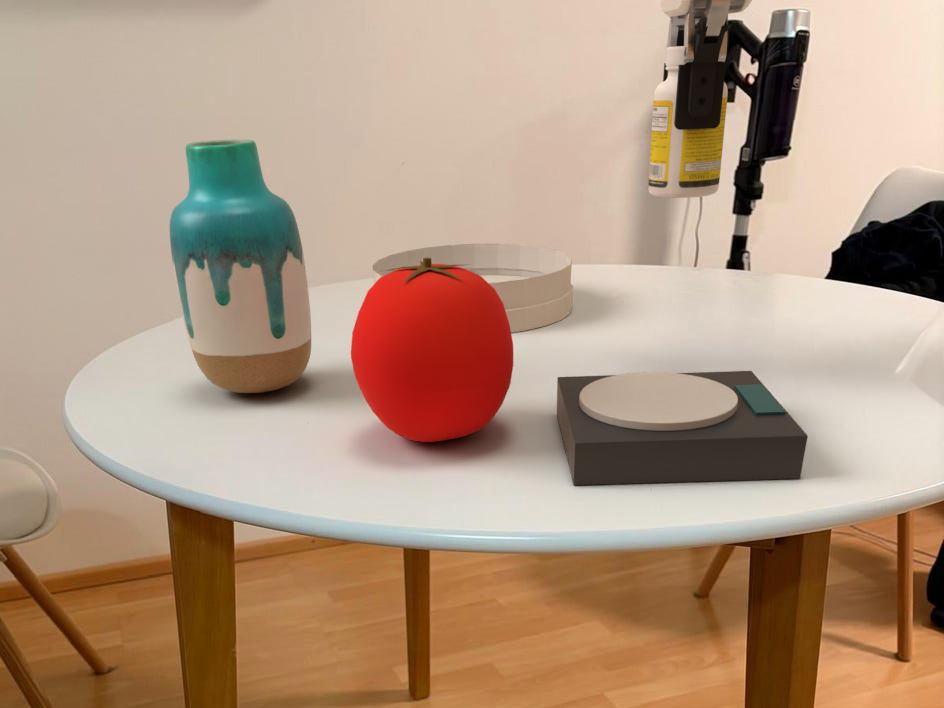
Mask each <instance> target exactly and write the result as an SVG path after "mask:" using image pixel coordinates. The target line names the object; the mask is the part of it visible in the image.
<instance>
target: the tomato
mask: <svg viewBox="0 0 944 708" xmlns="http://www.w3.org/2000/svg"><path fill="white" fill-rule="evenodd" d="M420 263H421V265H419V266H411V267H400V268H395V269H390V270H395V271H393V272H391V273H389V274H387V275H385V276H382V277H381V278H379V279H378V280H377V282H376V283H375V284H374V283H373V285H372V286H371V287H370V288H369V289H368V290H367V292H366V295H365V297H364V299H363V301H362V304H361V306H360V308H359V310H358V313H357V316H356V319H355V323H354V326H353V329H352V333H351V346H350V359H351V364H352V368H353V374H354V377H355V381H356V383H357V385H358V388H359V390H360V392H361V394H362V396H363V398H364V400H365V401H366V403H367V405H368V406H369V408H370V410H371V411H372V413H373V415H375V416H376V417H377V418H378V419H379V420H380V422H381V423H382V424H383V425H384V426H385V427H386V428H387V429H389V431H391V432H393V433H394V434H396V435H398V436H399V437H402V438H404V439H406V440H410V441H415V442H422V443H436V442H441V441H442V442H443V441H447V440H448V441H449V440H453V439H459V438H463V437H466V436H468V435H471V434H473V433H476V432H478V431H480V430H482V429H484V428H485V426H486V425H488V423H490V422H491V421H492V420H493V418H494V417H495V416H496V415H497V413H498V412H499V410H500V409H501V407H502V405H503V403H504V401H505V399H506V396H507V395H508V392H509V389H510V386H511V382H512V375H513V370H514V341H513V336H512V333H511V329H510V324H509V321H508V318H507V314H506V311H505V308H504V304H503V302H502V301H501V299H500V297H499V296H498V294H497V292H496V290H495V289H494V288H493V287H492V286H491V285H490V284H489V283H488V282H487V281H485V280H484V279H483V278H482V277H481V276H479V275H477V274H475V273H473V272H470V271H468V270H466V269H463V268H461V267H457V266H461V265H447V264H431V258H423V262H422V261H420ZM470 265H472V264H470ZM396 269H397V270H396ZM385 271H389V270H385Z"/></svg>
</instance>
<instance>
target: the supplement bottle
mask: <svg viewBox="0 0 944 708" xmlns="http://www.w3.org/2000/svg"><path fill="white" fill-rule="evenodd" d="M665 65H666V68H665V69H666V70H668V77H667V79H666V80H665V81H664V82H663V81H662V82H660V83H659V84H658V85H657V86H656V88H655V90H654V93H653V103H652V119H651V121H652V123H651V136H650V151H649V153H650V154H649V167H648V168H649V169H648V187H647V189H648V193H649V195H651V196H653V197H657V198H667V199H668V198H670V199H688V198H703V197H707V196H711V195H714V194H716V193H717V191H718V190H719V186H720V179H721V178H720V177H721V170H722V169H721V167H722V158H723V149H724V148H723V146H724V136H725V126H726V115H727V106H728V97H729V96H728V95H729V92H728V91H729V89H728V85H727V83H726V82H725V81H724V88H723V98H722V108H721V118H720V124H719V126H718V127H716V128H711V129H687V130H679V129H677V128H676V127H675V125H674V120H675V107H676V94H677V81H678V68H679V65H684V46H676V47H667V46H666V51H665Z"/></svg>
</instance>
